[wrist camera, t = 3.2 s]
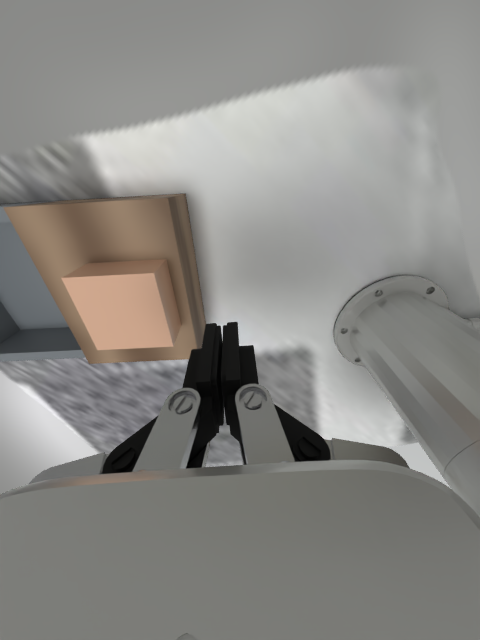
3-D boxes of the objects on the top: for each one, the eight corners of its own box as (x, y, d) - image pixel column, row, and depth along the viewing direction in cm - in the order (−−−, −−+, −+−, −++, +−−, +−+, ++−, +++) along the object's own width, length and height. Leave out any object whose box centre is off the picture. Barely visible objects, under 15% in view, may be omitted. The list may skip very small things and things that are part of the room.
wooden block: (185, 193, 20) (167, 197, 15) (206, 325, 27) (199, 358, 22) (62, 200, 20) (3, 207, 15) (116, 329, 27) (89, 363, 22)
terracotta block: (166, 259, 17) (153, 273, 14) (181, 325, 20) (173, 346, 17) (87, 263, 17) (61, 278, 14) (115, 328, 20) (97, 350, 17)
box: (62, 200, 20) (15, 205, 16) (116, 329, 27) (94, 357, 23) (-70, 208, 20) (-151, 215, 16) (20, 334, 27) (-20, 362, 23)
